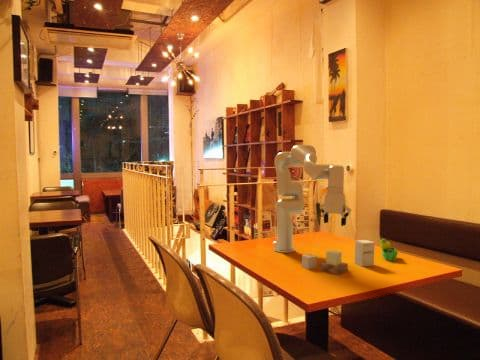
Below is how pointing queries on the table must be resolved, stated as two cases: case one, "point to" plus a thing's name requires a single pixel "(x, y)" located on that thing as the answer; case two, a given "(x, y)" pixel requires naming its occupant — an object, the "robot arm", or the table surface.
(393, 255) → the fruit basket
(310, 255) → the grey block
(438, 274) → the table surface
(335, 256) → the beige block
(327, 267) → the walnut base
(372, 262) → the supplement box
